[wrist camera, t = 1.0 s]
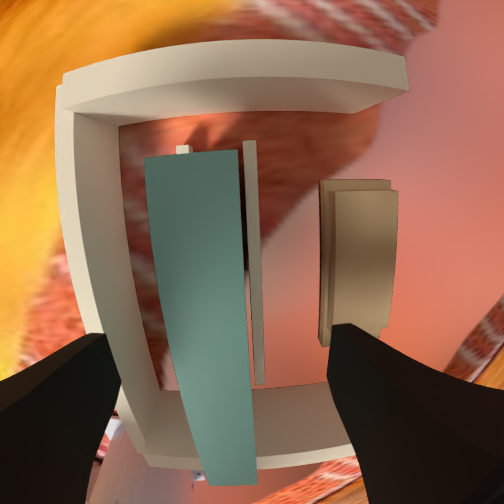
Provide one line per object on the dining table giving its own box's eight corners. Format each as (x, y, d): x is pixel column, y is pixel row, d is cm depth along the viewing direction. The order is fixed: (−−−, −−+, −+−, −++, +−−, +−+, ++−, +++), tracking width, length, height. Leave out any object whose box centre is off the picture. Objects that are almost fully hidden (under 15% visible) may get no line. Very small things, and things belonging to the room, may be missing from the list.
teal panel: (248, 358, 18) (258, 484, 9) (218, 359, 18) (209, 485, 9) (237, 162, 15) (237, 149, 6) (199, 165, 15) (143, 157, 6)
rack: (338, 393, 19) (363, 453, 14) (152, 403, 19) (134, 464, 13) (351, 89, 14) (404, 56, 8) (103, 104, 13) (44, 81, 8)
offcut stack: (372, 329, 19) (386, 347, 16) (317, 337, 18) (327, 358, 16) (381, 179, 16) (401, 181, 14) (317, 179, 16) (330, 181, 13)
